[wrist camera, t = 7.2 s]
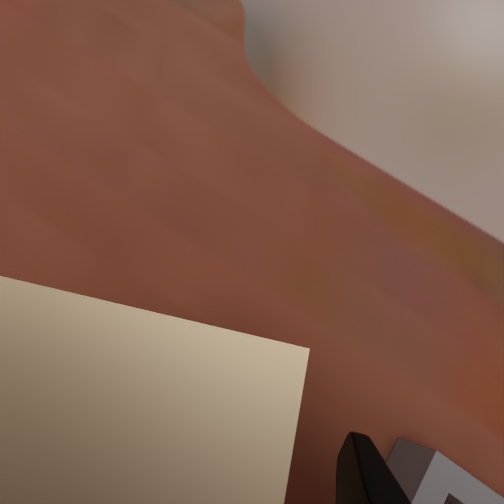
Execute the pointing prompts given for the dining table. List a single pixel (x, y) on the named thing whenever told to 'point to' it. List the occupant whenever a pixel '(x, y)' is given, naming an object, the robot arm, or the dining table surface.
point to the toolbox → (435, 477)
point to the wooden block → (139, 405)
